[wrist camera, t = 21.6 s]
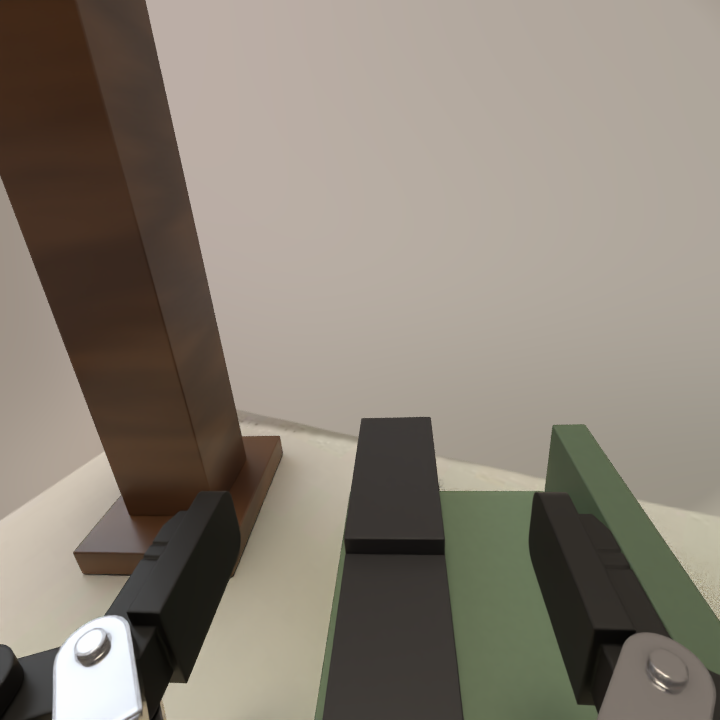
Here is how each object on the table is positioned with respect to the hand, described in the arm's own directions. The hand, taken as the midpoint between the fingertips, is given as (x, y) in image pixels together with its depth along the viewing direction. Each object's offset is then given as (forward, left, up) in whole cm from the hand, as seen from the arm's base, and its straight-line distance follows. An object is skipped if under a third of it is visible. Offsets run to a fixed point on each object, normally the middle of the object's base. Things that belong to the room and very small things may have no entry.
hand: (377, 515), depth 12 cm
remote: (-1, +4, -7) cm, 8 cm away
